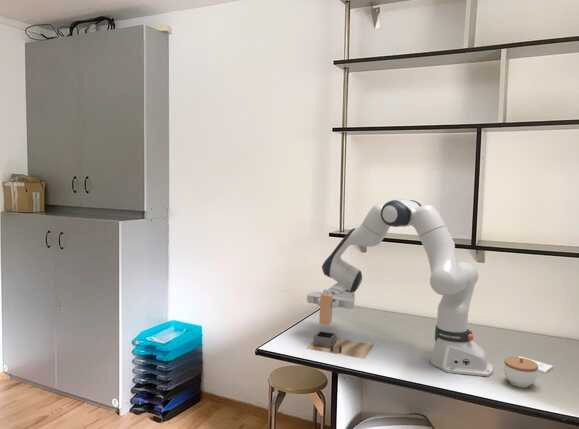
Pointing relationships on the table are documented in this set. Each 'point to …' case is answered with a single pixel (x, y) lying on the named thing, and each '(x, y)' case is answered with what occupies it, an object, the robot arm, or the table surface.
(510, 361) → the lidded jar
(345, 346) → the cable board
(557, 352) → the table surface
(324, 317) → the tan tall block
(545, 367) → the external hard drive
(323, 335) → the end holder
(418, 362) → the table surface
